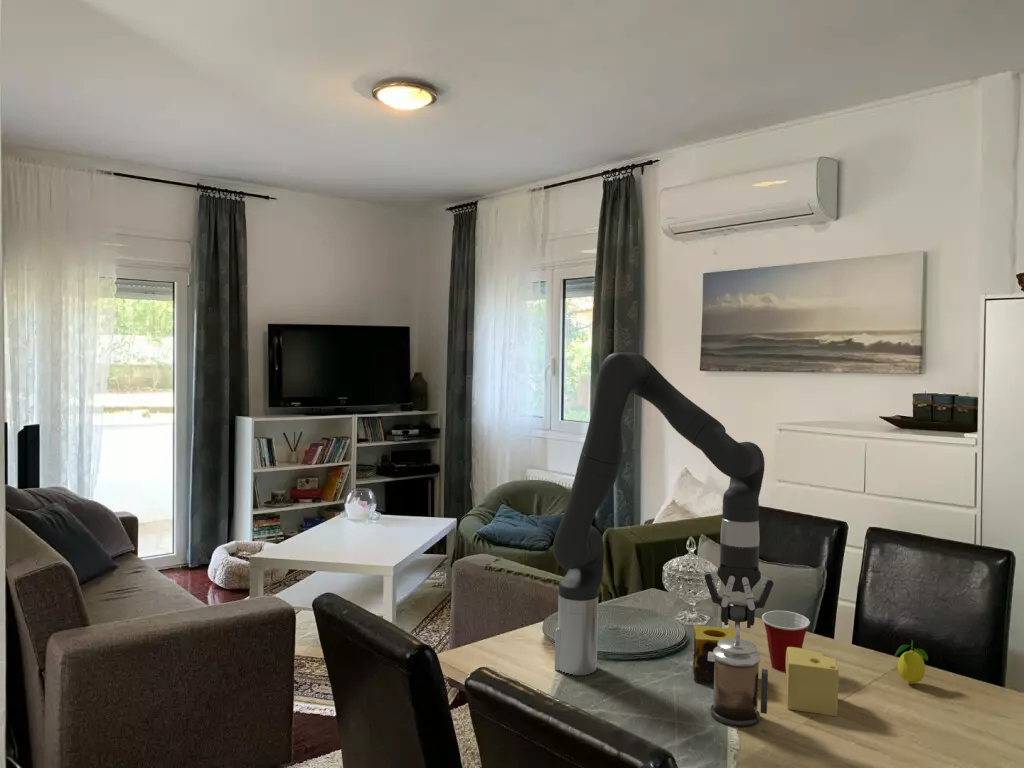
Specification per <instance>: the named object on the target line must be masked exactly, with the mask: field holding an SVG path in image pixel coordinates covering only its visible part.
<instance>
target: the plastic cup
mask: <svg viewBox="0 0 1024 768" xmlns="http://www.w3.org/2000/svg"><path fill="white" fill-rule="evenodd" d="M761 619H762V621H763V623H764V627H765V632H766V638H767V639H766V640H767V647H768V648H767V649H768V653H769V660H770V664H771V667H772V669H774V670H777V671H780V672H784V673H786V651H787V647H796V648H802V649H803V645H804V641H805V636H806V633H807V630H808V627H809V626H810V624H811V621H810V620H809V618H808V617H806V616H805V615H802V614H799V613H798V612H794V611H788V610H770V611H767V612H764V613H763V614H762V615H761Z"/></svg>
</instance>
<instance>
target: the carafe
mask: <svg viewBox="0 0 1024 768" xmlns="http://www.w3.org/2000/svg"><path fill="white" fill-rule="evenodd" d="M761 657H762V655H761V654H760V652H759V651H757V650H756V652H755V653H753V654H749V655H738V654H731V653H727V652H724V651H722V650H720V649H719V648H718V646H717V647H715V648H714V650H713V652H708V661H713V662H715V664H714V684H713V703H712V705H711V707H710V716H711V718H713V720H715V721H716V722H718V723H720V724H721V725H722V724H723V725H726V726H730V727H733V728H734V727H735V728H751V727H754V726H757V725H759V723H760V720H761V714H765V715H767V714H768V711H767V710H768V690H769V689H768V687H769V686H768V684H769V683H768V682H769V680H768V679H769V669H766V668H765V669H764V668H761V676H760V677H761V680H760V681H761V683H760V712H759V710H758V707H759V705H758V704H759V702H758V701H759V700H758V699H759V672H760V671H759V670H760V667H759V665H760V663H761Z"/></svg>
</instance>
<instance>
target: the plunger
mask: <svg viewBox="0 0 1024 768" xmlns="http://www.w3.org/2000/svg"><path fill="white" fill-rule="evenodd" d="M747 609H748V603H746V602H742V601H735V600H734V601H728V621H731V622H734V629H735V638H727V639H721V640H719V641H718V648H719V649H720V650H722V651H724V652H727V653H731V654H738V655H749V654H753V653H755V652H756V651H757V645H756V644H755V643H754V642H751V641H749V640H745V639H743V638H742V639H741V637H740V636H741V623H744V622H746V623H747Z"/></svg>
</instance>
